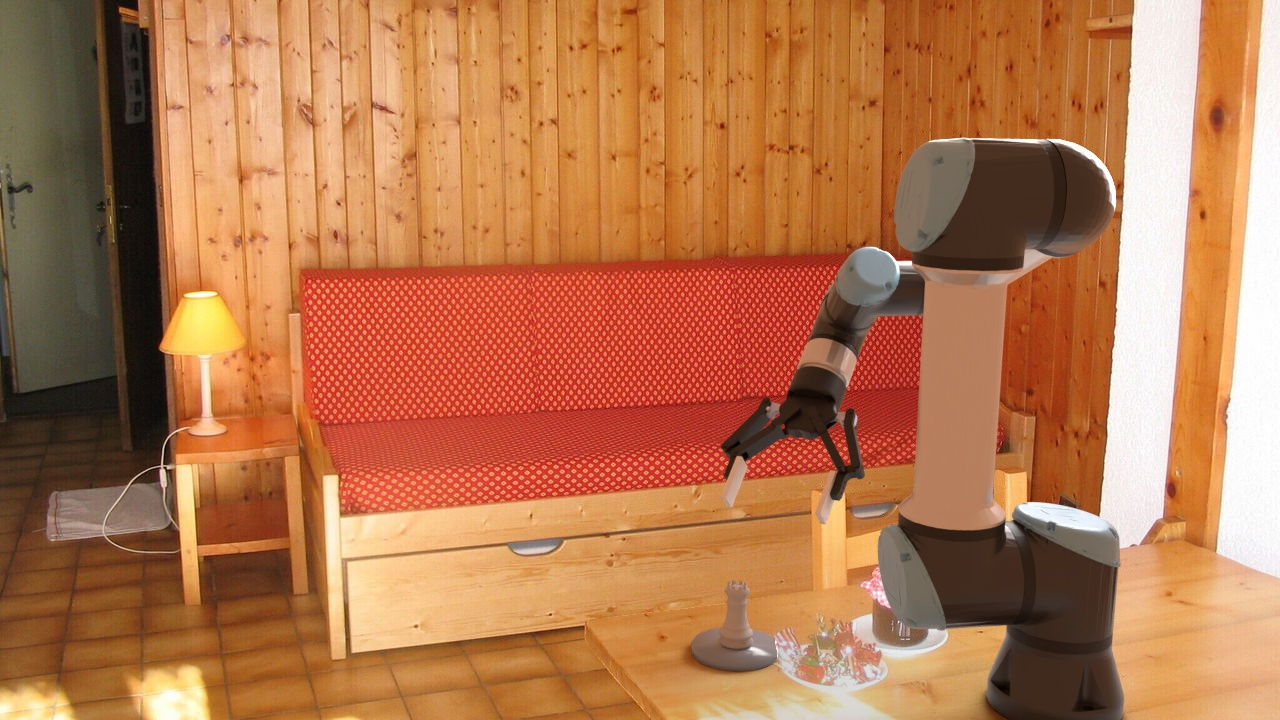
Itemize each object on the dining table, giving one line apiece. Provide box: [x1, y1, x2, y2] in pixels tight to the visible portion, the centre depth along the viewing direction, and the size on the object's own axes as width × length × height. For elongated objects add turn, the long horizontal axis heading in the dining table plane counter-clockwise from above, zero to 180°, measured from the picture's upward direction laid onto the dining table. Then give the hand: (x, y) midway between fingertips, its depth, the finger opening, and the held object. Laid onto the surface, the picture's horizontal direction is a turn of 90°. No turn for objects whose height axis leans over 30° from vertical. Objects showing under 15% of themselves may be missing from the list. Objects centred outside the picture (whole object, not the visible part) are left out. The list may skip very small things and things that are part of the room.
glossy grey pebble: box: [691, 626, 778, 672], centre depth 161 cm, size 11×11×1 cm
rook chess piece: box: [718, 580, 753, 650], centre depth 161 cm, size 4×4×8 cm
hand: (772, 510), depth 167 cm, fingers open, 13 cm apart
